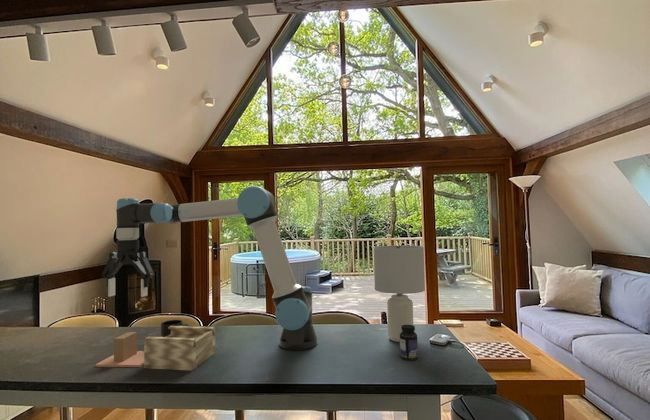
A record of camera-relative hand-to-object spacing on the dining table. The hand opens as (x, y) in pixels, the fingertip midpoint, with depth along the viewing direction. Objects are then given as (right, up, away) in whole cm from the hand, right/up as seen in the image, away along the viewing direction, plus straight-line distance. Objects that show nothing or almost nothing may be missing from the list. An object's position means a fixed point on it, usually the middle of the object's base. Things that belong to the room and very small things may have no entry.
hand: (127, 296), depth 134 cm
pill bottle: (+104, -20, -7) cm, 106 cm away
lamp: (+105, -21, +13) cm, 108 cm away
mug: (+14, -23, +10) cm, 29 cm away
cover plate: (+2, -23, -3) cm, 23 cm away
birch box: (+22, -22, -5) cm, 32 cm away
